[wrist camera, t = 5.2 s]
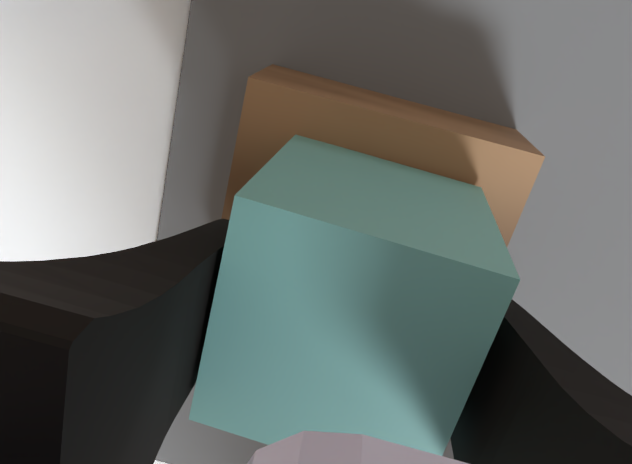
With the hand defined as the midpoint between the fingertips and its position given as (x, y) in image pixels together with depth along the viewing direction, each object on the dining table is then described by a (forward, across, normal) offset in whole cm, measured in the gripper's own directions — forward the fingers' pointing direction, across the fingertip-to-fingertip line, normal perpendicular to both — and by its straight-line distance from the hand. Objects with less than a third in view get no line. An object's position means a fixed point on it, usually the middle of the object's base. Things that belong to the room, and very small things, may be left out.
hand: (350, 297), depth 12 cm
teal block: (+2, 0, 0) cm, 2 cm away
